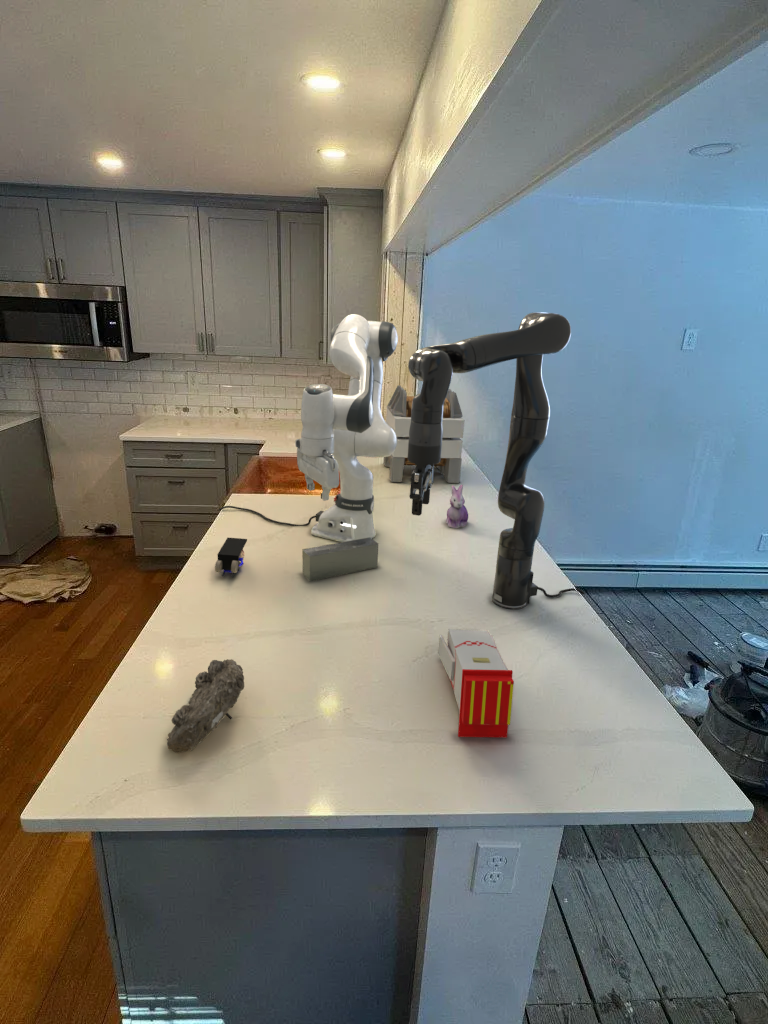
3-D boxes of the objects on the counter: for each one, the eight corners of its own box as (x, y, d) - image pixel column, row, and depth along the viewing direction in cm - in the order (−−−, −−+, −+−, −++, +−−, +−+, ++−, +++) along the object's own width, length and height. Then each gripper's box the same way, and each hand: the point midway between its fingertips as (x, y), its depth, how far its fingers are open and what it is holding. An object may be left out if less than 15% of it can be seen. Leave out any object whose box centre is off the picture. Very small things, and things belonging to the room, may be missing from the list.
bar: (309, 581, 163) (309, 556, 160) (302, 574, 167) (302, 549, 164) (377, 567, 173) (378, 543, 171) (369, 560, 178) (369, 537, 175)
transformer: (382, 463, 289) (386, 382, 275) (445, 464, 293) (451, 384, 279) (390, 482, 257) (394, 392, 243) (460, 483, 261) (468, 394, 247)
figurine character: (238, 584, 162) (249, 557, 175) (236, 562, 158) (247, 536, 172) (215, 584, 161) (227, 556, 175) (212, 561, 158) (225, 535, 171)
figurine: (453, 530, 205) (457, 490, 200) (438, 521, 213) (441, 482, 208) (475, 527, 209) (479, 488, 204) (459, 517, 217) (462, 480, 212)
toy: (488, 613, 130) (523, 677, 101) (484, 667, 133) (517, 744, 104) (435, 612, 130) (455, 676, 101) (432, 666, 133) (451, 743, 103)
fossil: (192, 660, 117) (244, 628, 112) (224, 691, 120) (276, 661, 115) (142, 746, 98) (202, 712, 93) (182, 779, 101) (242, 748, 96)
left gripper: (345, 454, 146) (344, 504, 151) (313, 437, 163) (313, 483, 168) (323, 456, 143) (322, 507, 148) (292, 439, 160) (293, 485, 165)
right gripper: (435, 449, 120) (430, 521, 126) (447, 436, 133) (441, 502, 138) (401, 446, 122) (397, 516, 127) (416, 433, 135) (412, 498, 140)
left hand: (317, 494), depth 158 cm, fingers open, 8 cm apart
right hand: (420, 509), depth 133 cm, fingers open, 8 cm apart
